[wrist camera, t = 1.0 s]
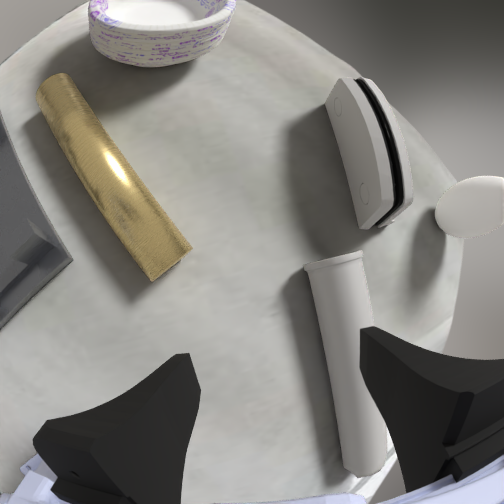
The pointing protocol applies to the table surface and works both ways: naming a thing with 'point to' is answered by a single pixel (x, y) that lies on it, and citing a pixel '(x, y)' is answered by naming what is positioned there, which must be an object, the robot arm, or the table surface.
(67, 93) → the brass pin
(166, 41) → the paper bowls
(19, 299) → the corner post stand
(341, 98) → the white rounded block
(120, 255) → the table surface
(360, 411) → the tube
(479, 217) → the white air blower bulb
